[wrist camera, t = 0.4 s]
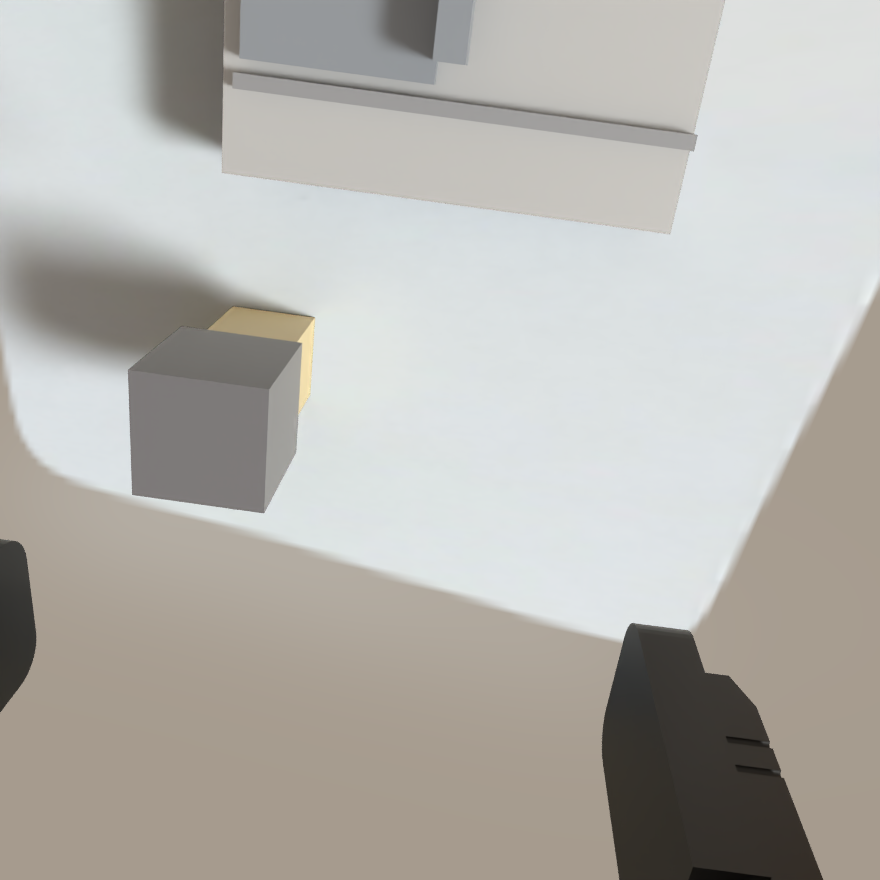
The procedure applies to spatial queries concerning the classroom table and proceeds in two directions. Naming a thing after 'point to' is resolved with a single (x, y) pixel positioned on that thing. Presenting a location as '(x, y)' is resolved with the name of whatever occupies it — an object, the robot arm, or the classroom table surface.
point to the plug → (220, 409)
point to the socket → (496, 114)
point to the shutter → (359, 35)
